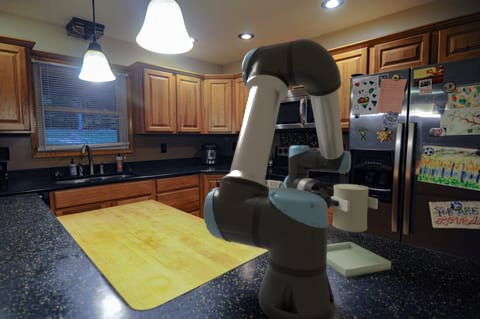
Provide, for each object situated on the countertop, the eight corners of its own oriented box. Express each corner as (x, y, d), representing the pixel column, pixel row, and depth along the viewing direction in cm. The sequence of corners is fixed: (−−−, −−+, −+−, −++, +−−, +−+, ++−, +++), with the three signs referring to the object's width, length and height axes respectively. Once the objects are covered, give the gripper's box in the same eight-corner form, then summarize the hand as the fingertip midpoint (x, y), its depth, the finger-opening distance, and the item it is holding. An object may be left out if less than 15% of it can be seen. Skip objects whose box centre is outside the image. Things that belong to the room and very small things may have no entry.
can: (371, 233, 68) (373, 188, 67) (334, 230, 70) (336, 186, 69) (362, 222, 77) (363, 183, 76) (330, 220, 79) (331, 181, 78)
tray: (345, 277, 64) (345, 269, 64) (310, 253, 78) (310, 247, 78) (390, 269, 69) (391, 261, 68) (350, 247, 83) (350, 241, 83)
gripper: (337, 199, 93) (392, 215, 72) (285, 203, 86) (328, 222, 65) (338, 178, 93) (393, 189, 72) (285, 181, 86) (329, 193, 65)
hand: (362, 205), depth 68 cm, fingers closed on can, 9 cm apart
